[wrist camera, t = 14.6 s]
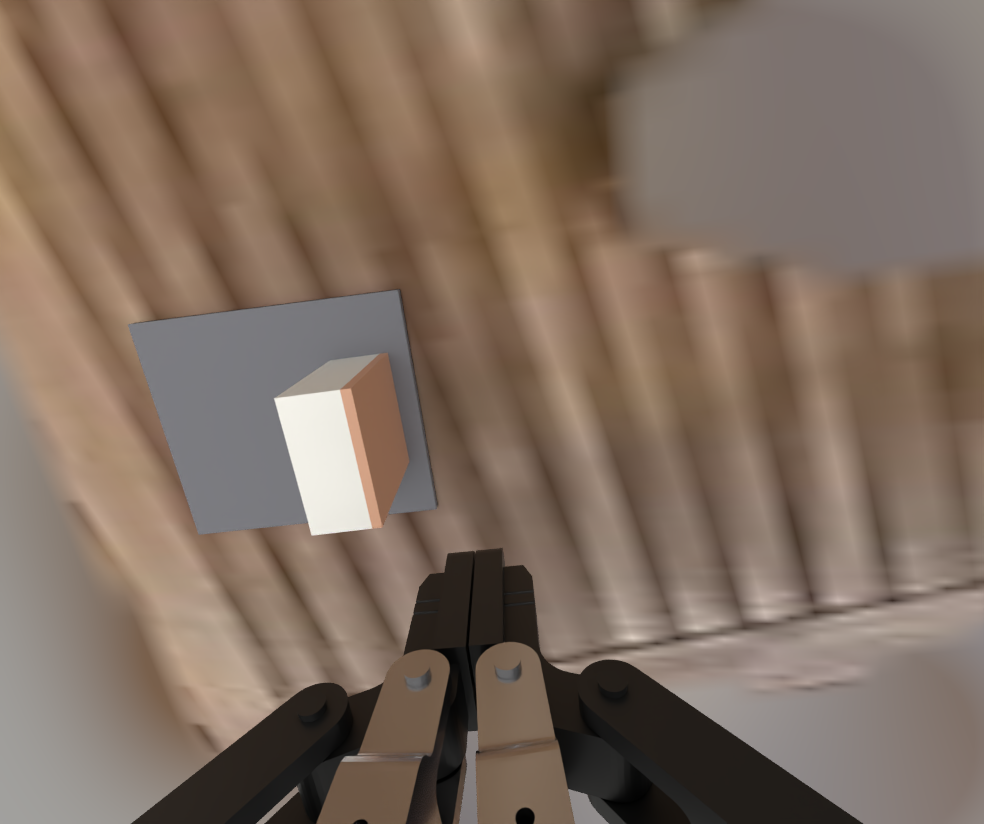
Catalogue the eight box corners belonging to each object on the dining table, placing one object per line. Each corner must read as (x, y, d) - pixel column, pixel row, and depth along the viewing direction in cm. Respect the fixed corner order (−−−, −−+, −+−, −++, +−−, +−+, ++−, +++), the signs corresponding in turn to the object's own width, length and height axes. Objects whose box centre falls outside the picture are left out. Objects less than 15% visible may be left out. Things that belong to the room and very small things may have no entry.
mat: (134, 323, 31) (127, 324, 30) (399, 289, 30) (397, 290, 29) (203, 529, 35) (198, 534, 34) (437, 504, 34) (436, 509, 34)
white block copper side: (329, 360, 31) (274, 398, 23) (387, 352, 30) (350, 388, 23) (355, 468, 33) (311, 535, 25) (409, 461, 33) (382, 527, 25)
